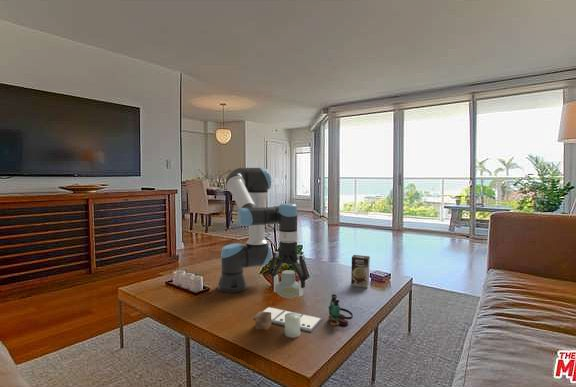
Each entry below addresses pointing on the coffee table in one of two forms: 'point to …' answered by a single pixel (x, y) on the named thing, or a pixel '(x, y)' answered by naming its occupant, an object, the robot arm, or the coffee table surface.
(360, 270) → the coffee box
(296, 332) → the pale green capsule
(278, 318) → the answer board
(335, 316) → the binoculars
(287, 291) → the air freshener
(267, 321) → the walnut block
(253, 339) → the coffee table surface
